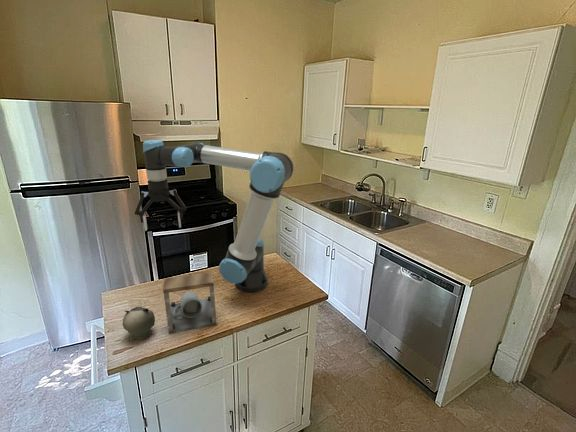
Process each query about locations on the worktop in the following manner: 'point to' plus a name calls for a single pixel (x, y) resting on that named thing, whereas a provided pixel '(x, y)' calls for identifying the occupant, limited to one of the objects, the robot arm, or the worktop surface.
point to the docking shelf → (208, 305)
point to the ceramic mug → (188, 306)
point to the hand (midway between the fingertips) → (163, 228)
